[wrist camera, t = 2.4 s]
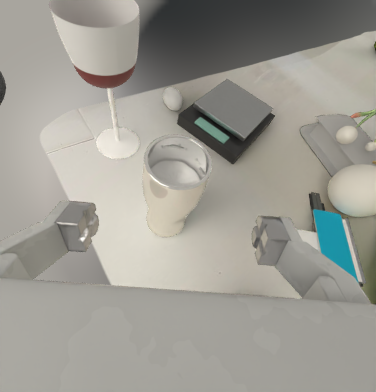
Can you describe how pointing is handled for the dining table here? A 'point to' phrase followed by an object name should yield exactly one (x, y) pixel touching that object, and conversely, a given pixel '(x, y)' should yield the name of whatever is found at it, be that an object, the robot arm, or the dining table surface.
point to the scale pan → (233, 109)
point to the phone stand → (333, 239)
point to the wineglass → (102, 55)
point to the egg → (172, 98)
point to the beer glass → (173, 181)
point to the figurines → (354, 178)
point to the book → (337, 143)
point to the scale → (218, 133)
